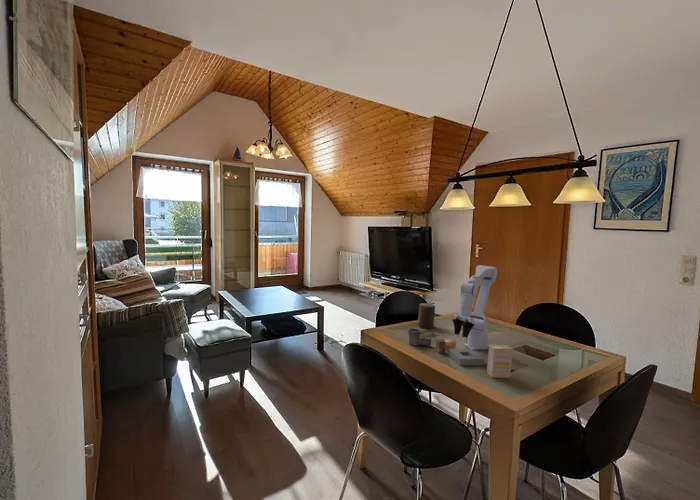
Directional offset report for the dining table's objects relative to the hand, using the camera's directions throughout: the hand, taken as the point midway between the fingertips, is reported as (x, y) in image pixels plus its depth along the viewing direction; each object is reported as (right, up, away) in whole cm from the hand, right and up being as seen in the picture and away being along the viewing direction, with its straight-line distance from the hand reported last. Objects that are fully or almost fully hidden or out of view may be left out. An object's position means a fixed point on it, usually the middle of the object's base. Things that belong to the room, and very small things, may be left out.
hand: (460, 335), depth 160 cm
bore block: (+2, -11, -1) cm, 12 cm away
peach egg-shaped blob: (-2, -10, +11) cm, 15 cm away
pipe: (-17, -9, +16) cm, 25 cm away
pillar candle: (-6, -7, +50) cm, 51 cm away
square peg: (-8, -10, +8) cm, 15 cm away
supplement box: (+11, -13, -16) cm, 24 cm away
